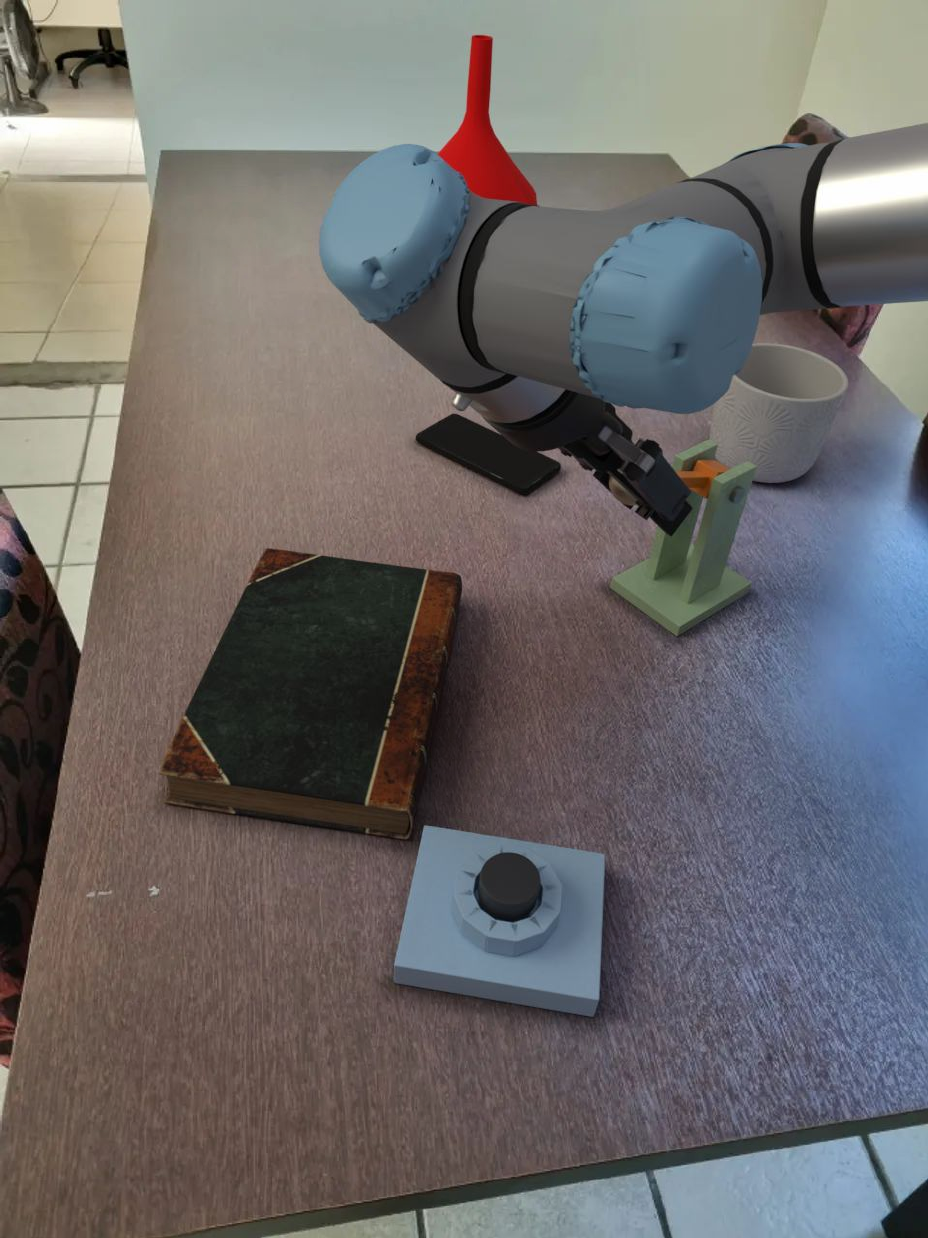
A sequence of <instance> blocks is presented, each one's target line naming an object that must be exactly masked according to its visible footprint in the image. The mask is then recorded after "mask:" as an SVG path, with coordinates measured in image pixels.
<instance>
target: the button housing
mask: <svg viewBox="0 0 928 1238" xmlns="http://www.w3.org/2000/svg"><path fill="white" fill-rule="evenodd" d="M505 852H512V853H517V854H520V855H523V856H525V857H526V858H528V859H529V860H531V861H532V862H533V863H534V865H535V866H536V868H537V869H538V871H539V874H540V888H539V893H538V898H537V902H536V905H535V907H534V908H533V910H532V911H531V912H530V913H529V914H527V915H526V916H524V917H522V918H520V919H516V920H504V919H500V918H497V917H495V916H493V915H491V914H490V913H489V912H488V911H487V910H486V909H485V908H484V907H483V905H482V904H481V902H480V899H479V895H478V889H479V881H480V873H481V869H482V867H483V865H484V864H485V862H486V861H487V860H488V859H489V858H491V857H492V856H494V855H496V854H499V853H505ZM605 872H606V854H605V853H603V852H597V851H590V850H584V849H577V848H571V847H564V846H558V845H552V844H545V843H539V842H535V841H534V842H533V841H527V840H520V839H514V838H508V837H502V836H494V835H490V834H483V833H477V832H470V831H464V830H458V829H451V828H445V827H440V826H432V825H426V824H425V825H423V829H422V833H421V838H420V844H419V847H418V853H417V857H416V862H415V866H414V870H413V876H412V880H411V884H410V889H409V894H408V899H407V903H406V908H405V912H404V916H403V921H402V926H401V931H400V935H399V940H398V944H397V945H398V946H397V948H396V954H395V959H394V963H393V983H394V984H399V985H404V986H410V987H416V988H421V989H422V988H423V989H426V990H433V991H439V992H445V993H450V994H451V993H452V994H456V995H463V996H468V997H475V998H480V999H486V1000H490V1001H491V1000H493V1001H497V1002H503V1003H509V1004H515V1005H520V1006H521V1005H522V1006H527V1007H532V1008H539V1009H543V1010H544V1009H545V1010H551V1011H555V1012H562V1013H567V1014H572V1015H580V1016H585V1017H590V1018H591V1017H592V1018H594V1017H595V1014H596V1011H597V1008H598V1005H599V1001H600V993H601V970H602V968H601V967H602V966H601V965H602V949H603V946H602V945H603V944H602V943H603V926H604V925H603V923H604V922H603V921H604V899H605V875H606V874H605Z"/></svg>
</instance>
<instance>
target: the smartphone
mask: <svg viewBox="0 0 928 1238" xmlns="http://www.w3.org/2000/svg"><path fill="white" fill-rule="evenodd" d="M415 441H416V443H417V444H420V445H422V446H423V447H426V448H427V449H429V450H431V451H434V452H435V453H437V454H439V455H441V456H443V457H445V458H447V459H449V460H451V461H453V462H455V463H457V464H459V465H461V466H463V467H466V468H467V469H469V470H471V471H473V472H475V473H477V474H479V475H481V476H483V477H485V478H487V479H489V480H491V481H493V482H494V483H497V484H499V485H500V486H503V487H505V488H507V489H508V490H511V491H513V492H515V493H516V494H519V495H522V496H523V495H524V496H525V495H527V494H529V493H530V492H532V491H533V490H535V489H536V488H538V487H539V486H540V485H542V484H543V483H545V482H546V481H547V480H549V479H550V478H551V477H553V476H554V475H556V474H557V473H558V472H560V471H561V469H562V463H560V462H559V461H557V460H555V459H553V458H552V457H549V456H547V455H545V454H543V453H541V452H540V451H539V452H538V451H528V450H524V449H522V448H519V447H517V446H515V445H513V444H512V443H511V442H509V441H508V440H507V439H506V438H505V437H504V436H502V435H501V434H500V433H499V432H498V431H494V430H492V429H490V428H489V427H486V426H484V425H483V424H482V425H481V424H480V423H478V422H476V421H473V420H471V419H469V418H467V417H465V416H463V415H460V414H458V413H451V414H449V415H447V416H446V417H444V418H442V419H440V420H438V421H437V422H435V423H433V424H431V425H430V426H428V427H426V428H424V429H423V430H421V431H420V432H418V433H417V434H415Z"/></svg>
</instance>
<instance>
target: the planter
mask: <svg viewBox="0 0 928 1238" xmlns="http://www.w3.org/2000/svg"><path fill="white" fill-rule="evenodd" d="M848 388H849V379H848V376H847V374H846V373H845V372H844V370H843V369H842V368H841V367H840V366H839V365H838V364H836V363H835V362H834V361H832V360H830V359H829V358H827V357H825V356H823V355H821V354H819V353H817V352H814V351H811V350H808V349H805V348H802V347H798V346H795V345H794V346H793V345H788V344H782V343H774V342H773V343H772V342H759V343H753V344H752V347H751V350H750V353H749V355H748V357H747V360H746V362H745V364H744V366H743V368H742V370H741V371H740V372H739V373H738V374H735V375H733V378H732V381H731V384H730V387H729V389H728V391H727V392H726V393H725V394H724V395H723V396H722V397H721V398H720V399H719V400H718V401H717V402H716V403H714V404H713V410H712V414H711V420H710V427H709V435H708V437H709V439H710V440H711V441H713V442H715V443H717V444H718V446H717V450H716V454H715V457H714V459H715V460H716V461H718V462H720V463H721V464H723V465H725V466H726V467H728V468H730V469H732V468H734V467H736V466H738V465H740V464H742V463H744V462H746V461H749V462H750V463H752V464H754V465H756V466H757V468H756V471H755V474H754V477H753V480H752V482H757V483H765V484H781V483H786V482H791V481H794V480H796V479H799V478H800V477H801V476H802V477H803V476H804V475H805V474H807V472H808V471H809V470H810V469H811V468H812V467H813V465H814V464H815V462H816V461H817V459H818V458H819V455H820V453H821V452H822V450H823V448H824V447H825V446H824V445H825V443H826V441H827V439H828V436H829V435H830V432H831V430H832V428H833V425H834V423H835V420H836V418H837V416H838V412H839V410H840V408H841V406H842V403H843V401H844V398H845V395H846V394H847V391H848ZM709 439H708V440H709Z"/></svg>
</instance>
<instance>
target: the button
mask: <svg viewBox="0 0 928 1238" xmlns="http://www.w3.org/2000/svg"><path fill="white" fill-rule="evenodd" d="M539 888H540V874H539V871H538V869H537V868H536V866H535V865H534V863H533V862H532V861H531V860H529V859H528V858H526V857H525V856H523V855H520V854H517V853H512V852H505V853H499V854H496V855H494V856H492V857H491V858H489V859H488V860H487V861H486V862H485V864H484V865H483V867H482V869H481V873H480V881H479V889H478V895H479V899H480V902H481V904H482V905H483V907H484V908H485V909H486V910H487V911H488V912H489V913H490V914H491V915H493V916H495V917H497V918H500V919H504V920H516V919H520V918H522V917H524V916H526V915H527V914H529V913H530V912H531V911H532V910H533V908H534V907H535V905H536V902H537V898H538V893H539Z"/></svg>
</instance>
